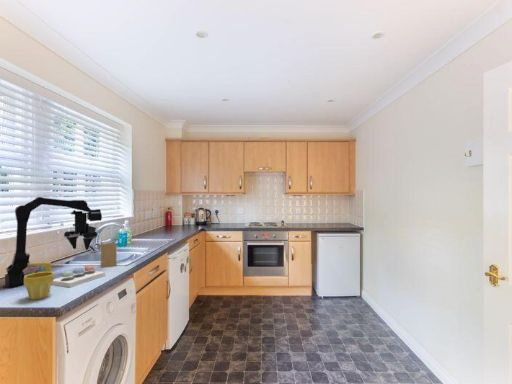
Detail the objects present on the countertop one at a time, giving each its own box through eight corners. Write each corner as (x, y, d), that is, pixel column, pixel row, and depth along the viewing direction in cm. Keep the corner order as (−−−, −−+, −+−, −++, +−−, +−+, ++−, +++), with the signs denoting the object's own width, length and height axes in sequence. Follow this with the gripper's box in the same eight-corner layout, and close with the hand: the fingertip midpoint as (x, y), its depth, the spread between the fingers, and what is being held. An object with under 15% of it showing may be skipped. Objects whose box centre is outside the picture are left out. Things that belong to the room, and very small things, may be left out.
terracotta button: (88, 271, 146) (88, 267, 146) (82, 270, 148) (82, 266, 148) (95, 268, 151) (95, 265, 151) (90, 268, 152) (90, 264, 152)
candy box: (16, 278, 146) (16, 263, 146) (20, 277, 149) (19, 262, 149) (49, 277, 148) (49, 262, 148) (51, 276, 150) (51, 261, 150)
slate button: (77, 274, 141) (77, 270, 141) (71, 273, 142) (71, 269, 142) (85, 271, 145) (85, 268, 145) (79, 271, 146) (79, 267, 146)
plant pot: (50, 290, 127) (50, 270, 127) (56, 296, 121) (56, 274, 121) (21, 297, 119) (21, 275, 119) (26, 303, 113) (26, 279, 113)
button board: (69, 287, 132) (69, 282, 132) (49, 284, 137) (49, 279, 137) (105, 275, 151) (105, 271, 151) (86, 273, 155) (86, 269, 155)
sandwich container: (115, 261, 184) (115, 239, 184) (116, 266, 171) (116, 242, 171) (100, 263, 180) (100, 240, 180) (100, 268, 166) (100, 243, 167)
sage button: (66, 277, 135) (66, 273, 135) (60, 276, 137) (60, 272, 137) (75, 275, 139) (74, 271, 139) (68, 274, 141) (68, 270, 141)
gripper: (105, 220, 160) (105, 247, 160) (81, 220, 166) (81, 245, 166) (88, 222, 149) (88, 251, 149) (63, 222, 155) (63, 249, 155)
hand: (80, 249), depth 155 cm, fingers open, 9 cm apart
